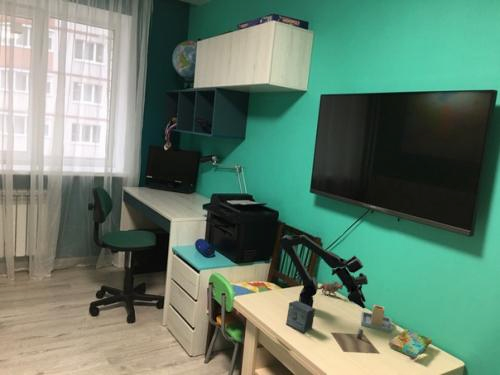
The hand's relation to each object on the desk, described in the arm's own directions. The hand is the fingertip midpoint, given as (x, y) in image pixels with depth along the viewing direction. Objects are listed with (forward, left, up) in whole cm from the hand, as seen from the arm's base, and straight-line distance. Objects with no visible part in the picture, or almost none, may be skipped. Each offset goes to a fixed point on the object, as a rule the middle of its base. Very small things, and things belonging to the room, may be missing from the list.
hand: (364, 304), depth 199 cm
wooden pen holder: (+6, -3, -8) cm, 10 cm away
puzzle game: (+12, -23, -9) cm, 28 cm away
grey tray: (+6, -3, -9) cm, 11 cm away
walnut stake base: (-14, -23, -9) cm, 28 cm away
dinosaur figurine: (-6, +32, -9) cm, 34 cm away
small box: (-35, -10, -9) cm, 37 cm away
